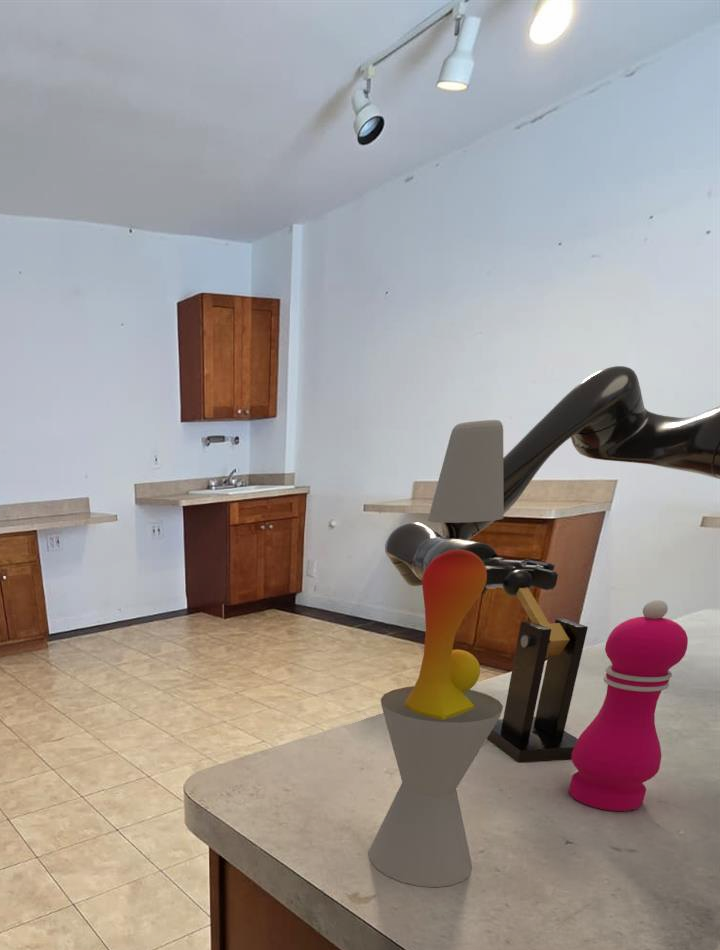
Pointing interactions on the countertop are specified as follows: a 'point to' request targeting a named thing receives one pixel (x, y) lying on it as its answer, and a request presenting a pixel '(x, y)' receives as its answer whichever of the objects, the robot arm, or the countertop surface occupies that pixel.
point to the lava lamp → (443, 682)
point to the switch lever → (534, 609)
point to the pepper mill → (628, 713)
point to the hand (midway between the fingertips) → (518, 583)
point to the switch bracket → (546, 730)
